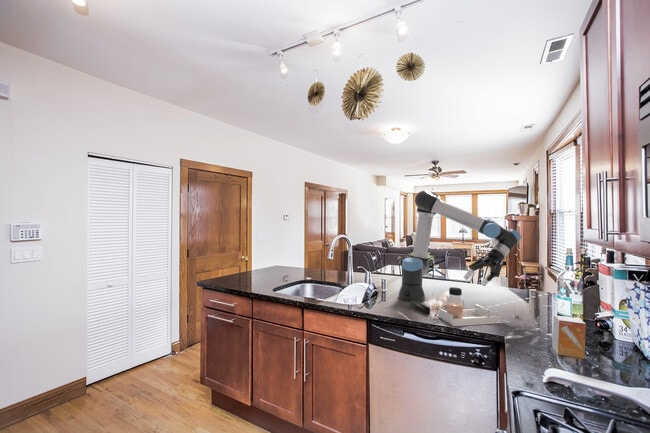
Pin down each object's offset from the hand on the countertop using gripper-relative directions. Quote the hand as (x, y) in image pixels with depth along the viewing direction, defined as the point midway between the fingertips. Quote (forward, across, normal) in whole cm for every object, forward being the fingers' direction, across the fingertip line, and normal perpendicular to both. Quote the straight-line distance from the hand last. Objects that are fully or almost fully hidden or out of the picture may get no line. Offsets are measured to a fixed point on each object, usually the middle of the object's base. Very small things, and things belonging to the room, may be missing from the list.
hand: (473, 281), depth 163 cm
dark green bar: (+33, +1, +11) cm, 35 cm away
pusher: (+13, -15, -6) cm, 21 cm away
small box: (+11, -51, -11) cm, 53 cm away
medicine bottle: (+18, 0, -3) cm, 19 cm away
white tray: (+21, -15, -1) cm, 25 cm away
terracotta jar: (+25, -15, +6) cm, 30 cm away
